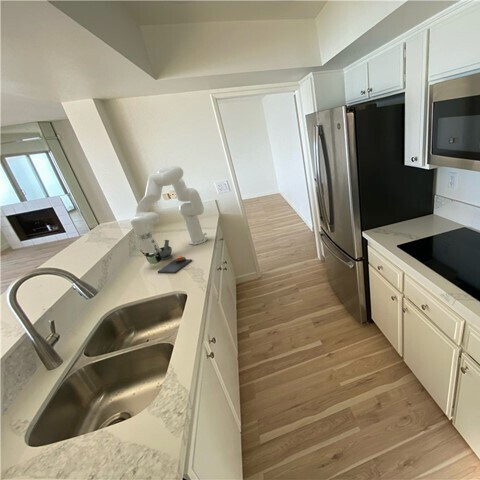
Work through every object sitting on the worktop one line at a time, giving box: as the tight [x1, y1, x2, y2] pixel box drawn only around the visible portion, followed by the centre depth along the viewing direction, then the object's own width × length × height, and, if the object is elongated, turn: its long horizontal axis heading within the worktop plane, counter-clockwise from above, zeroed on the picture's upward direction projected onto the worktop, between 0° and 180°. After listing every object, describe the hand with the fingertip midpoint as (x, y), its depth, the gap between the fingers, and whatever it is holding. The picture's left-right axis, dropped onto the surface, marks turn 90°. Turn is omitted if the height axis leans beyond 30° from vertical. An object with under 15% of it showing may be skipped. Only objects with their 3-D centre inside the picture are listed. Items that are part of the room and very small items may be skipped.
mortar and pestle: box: [156, 239, 173, 261], centre depth 184 cm, size 11×9×12 cm
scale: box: [157, 256, 193, 274], centre depth 170 cm, size 16×13×3 cm
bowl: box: [146, 253, 161, 265], centre depth 171 cm, size 7×7×5 cm
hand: (155, 260), depth 172 cm, fingers closed on bowl, 6 cm apart
